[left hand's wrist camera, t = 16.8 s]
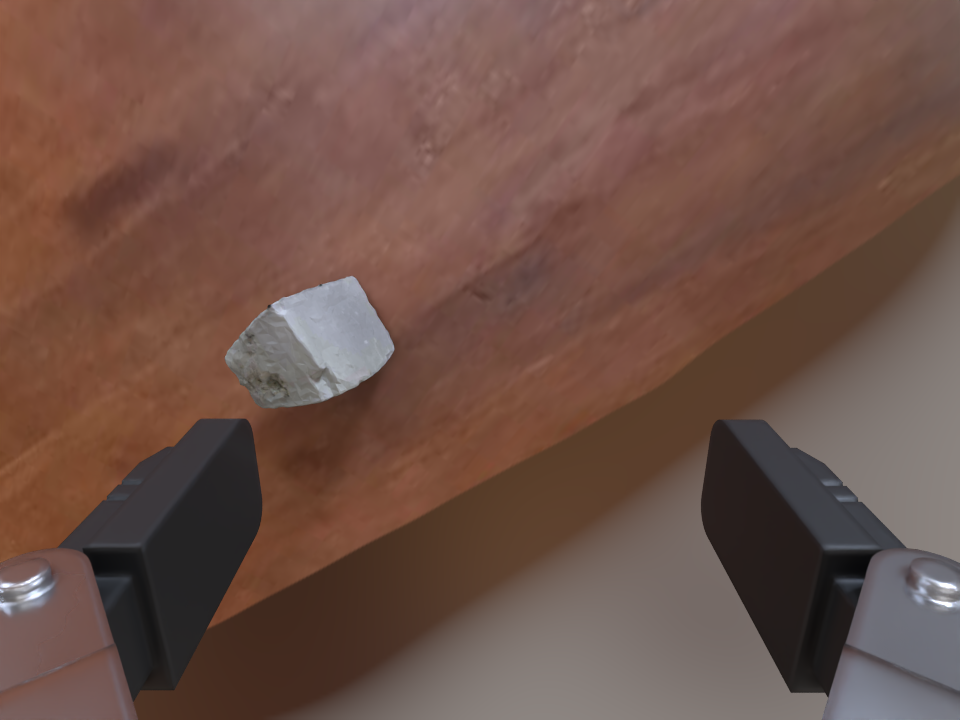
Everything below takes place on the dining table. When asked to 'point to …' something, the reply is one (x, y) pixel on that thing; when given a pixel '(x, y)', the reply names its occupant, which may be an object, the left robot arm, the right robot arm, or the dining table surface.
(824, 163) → the dining table surface
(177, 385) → the dining table surface
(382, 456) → the dining table surface
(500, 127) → the dining table surface
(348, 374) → the mineral specimen
